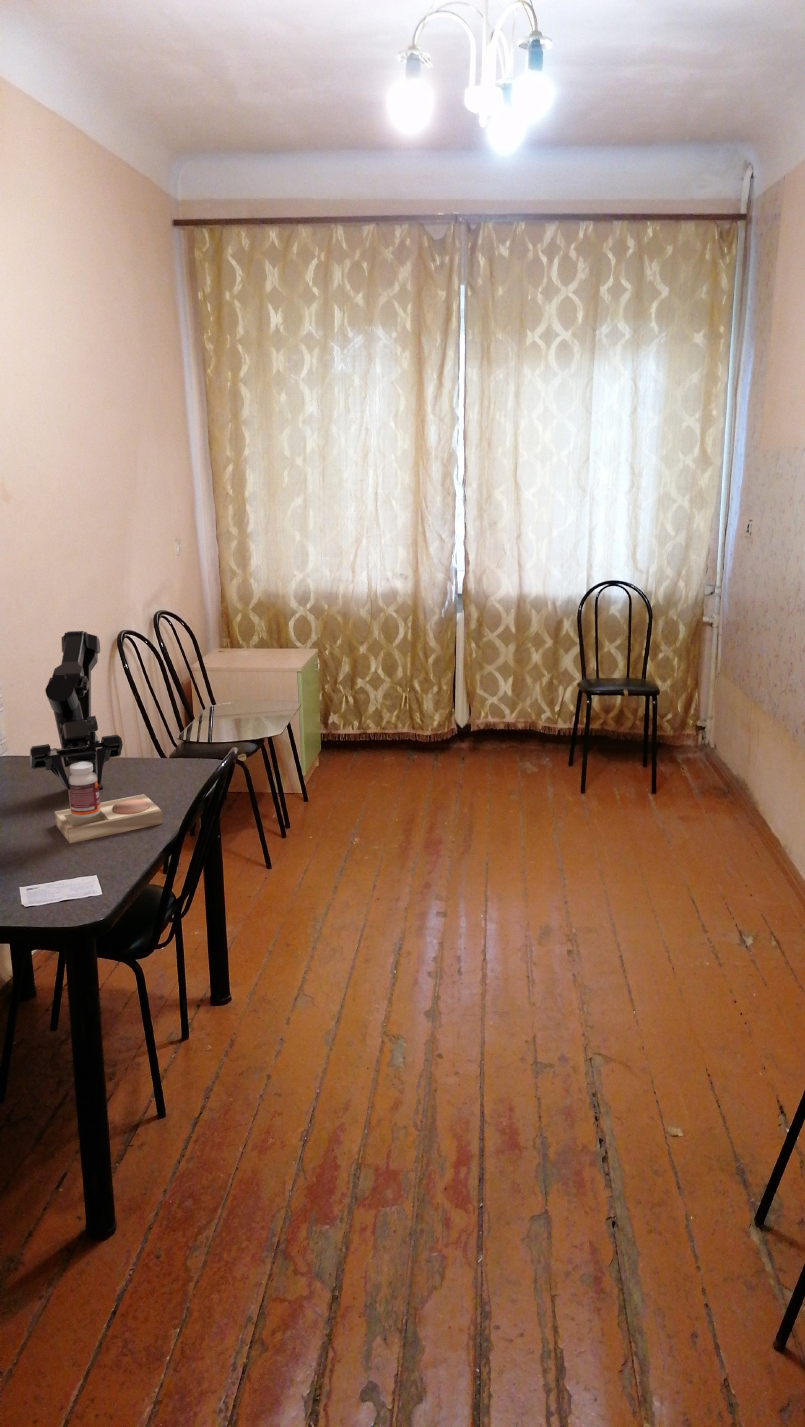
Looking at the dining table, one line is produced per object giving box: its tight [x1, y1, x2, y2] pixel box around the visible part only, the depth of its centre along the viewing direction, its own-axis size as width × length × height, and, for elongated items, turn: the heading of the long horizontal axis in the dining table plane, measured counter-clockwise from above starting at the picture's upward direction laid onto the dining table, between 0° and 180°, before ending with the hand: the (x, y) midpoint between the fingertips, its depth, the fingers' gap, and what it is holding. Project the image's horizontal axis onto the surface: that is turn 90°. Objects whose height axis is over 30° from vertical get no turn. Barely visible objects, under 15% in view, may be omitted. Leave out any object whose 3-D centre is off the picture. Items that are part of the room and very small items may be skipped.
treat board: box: [53, 793, 164, 844], centre depth 210 cm, size 12×20×3 cm, turn 123°
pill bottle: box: [67, 762, 101, 818], centre depth 204 cm, size 6×6×11 cm
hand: (84, 786), depth 203 cm, fingers closed on pill bottle, 6 cm apart
